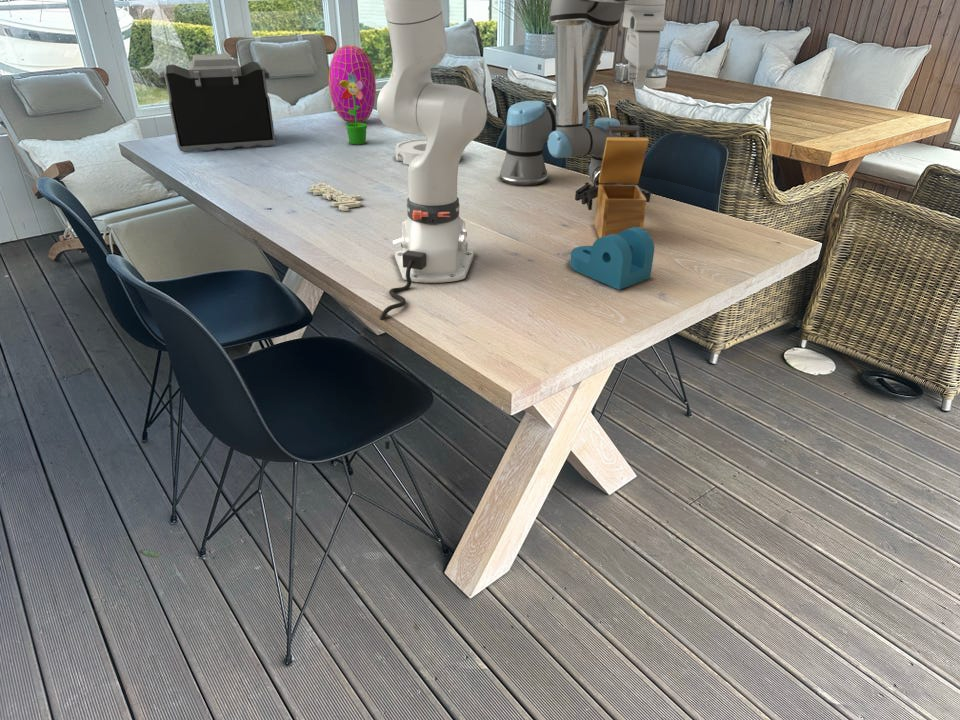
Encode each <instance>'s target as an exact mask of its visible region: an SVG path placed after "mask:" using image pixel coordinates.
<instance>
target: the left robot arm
mask: <svg viewBox="0 0 960 720" xmlns="http://www.w3.org/2000/svg"><path fill="white" fill-rule="evenodd" d="M382 1H383V7H384V14H385V20H386V24H387V29H388V34H389V40H390V46H391V55H392V69H391V74H390V76H389V79H388V81H387V82H386V83H385V84H384V85H383V86H382V88H381V89H380V91H379V93H378V96H377V101H376V110H377V114H378V118H379V120H380V122H381V123H382V124H383V125H384V126H386V127H388V128H390V129H392V130H394V131H396V132H398V133H402V134H406V135H407V134H408V135H412V136H413V135H414V136H420V137H425V139H427V144H426V149H425V152H423V153H421V154H419V155H418V156H416V157H415V158H414V159H413V160H412V161H411V162H410V164H409V165H408V168H407V184H408V186H407V187H408V198H407V199H406V211H407V213H406V214H407V217H406V218H405V219H404V220H403V221H402V223H401V231H402V237H399V238H397V239H395V240H392V244H393V245H395V244H398V243H401V244H400V247H401V249H400V250H397V251H395V252H394V259H395V262H396V264H397V267H398V269H399V272H400V274H401V277H402V279H403V280H405V281H406V284H405V285H404V286H402V287H393V288H390V290H389V295H390V297H392V298H394V299H396V300H398V301H400V302H398V303H397V302H396V303H394V304H391V305H388V306H387V307H385V308H384V309H383V310H382V312H381V314H380V317H379V320H380V321H384V320H385V319H386V317H387V315H388V314H389V312H391V311H393V310H396V309H399V308H403V307H404V306H405V305H406V303H407V302H406V301H407V300H406V299H405V297H403V296H402V295H399V294H397V293H400V292H404V291H407V290H409V289H410V288H411V286H412V282H414V283H431V284H433V283H435V284H437V283H451V282H457V281H461V280H464V279H466V277H467V274H468V273H469V269H470V267H471V265H472V262H473V260H474V257H475V251H473V250H471V249H468V245H469V243H468V242H467V241H466V238H467V236H468V232H467V231H466V221H465V220H464V219H463V218H461V216H460V208H461V207H460V206H461V205H460V198H459V197H458V175H459V174H458V173H459V166H460V160H461V159H460V158H462V155H463V153H464V152H465V150H466V148H467V147H468V145H469V144H470V143H471V142H472V141H474V140H475V139H477V138H478V137H479V136H480V134H481V133H482V132H483V131H484V128H485V126H486V123H487V118H488V112H487V111H488V110H487V105H486V103H485V100H484V98H483V96H482V95H481V94H480V93H479V92H477V91H474V90H472V89H470V88H466V87H464V86H461V85H454V84H443V83H436V82H434V81H433V80H432V69H433V68H434V67H436V66H437V65H439V64H440V63H441V62H442V61H443V60H444V58H445V56H446V54H447V50H448V41H447V34H446V27H445V22H444V14H443V7H442V1H441V0H382ZM580 1H584V2H592V1H598V2H610V3H621V2H625V5H624V12H623V14H622V15H623V16H622V23H621V24H622V28H626V29H627V30H626V36H625V37H626V38H625V44H624V50H623V51H624V52H623V54H624V59H625V60H627V62H628V63H627V64H628V65H627V66H628V67H627V68H628V70H627V71H628V76H627V81H628V82H629V83H634V88H635V89H636V90H643V89H644V87H645V81H646V78H647V75H648V70H653V69H654V67H655V65H656V61H657V57H658V53H659V52H658V51H659V48H660V47H659V46H660V43H661V35H662V34H661V32H664V30H665V26H666V20H665V13H666V12H665V10H666V3H667V1H666V0H580ZM384 444H385V445H384V446H385V450H389V449H391V446H390V440H387V441H385V442H384Z"/></svg>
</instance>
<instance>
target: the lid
mask: <svg viewBox="0 0 960 720" xmlns="http://www.w3.org/2000/svg"><path fill="white" fill-rule="evenodd" d="M607 133H609V137H607V139H606V144H605V150H604V155H603V160H602V165H601V171H600V176H599V183H614V184H623V185H630V184H634V185H638V184H639V182H640V178H641V173H642V171H643V170H642V169H643V166H644V162H645V158H646V153H647V149H648V145H649V141H650V140H649V137H642V136H641V137H640V125H623V124H620V125H608V127H607ZM612 133H620V134H635V136H634V137H633V136H619V137H612Z"/></svg>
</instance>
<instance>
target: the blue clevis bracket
mask: <svg viewBox="0 0 960 720" xmlns="http://www.w3.org/2000/svg"><path fill="white" fill-rule="evenodd" d="M654 255H655V244H654V240H653V238H652V236H651V235H650V234H649V232H648V231H647V230H646V229H644V228H643V229H642V228H640V227H633V228H629V229H626V230H623V231H621V232H620V233H619V234H618V235H617V234H610V235H607V236H604V237H601V238H599V237H598V238H597V239H595V241H594V242H593V243H592V245H581V246H577V247H575V248H572V249H571V251H570V257H569V258H570V259H569V266H570V268H571V269H572V270H573V271H575V272H577V273H579V274H582V275H584V276H586V277H588V278H591V279H593V280H595V281H598V282H600V283H603V284H605V285H607V286H609V287H611V288H613V289H616V290H619V291H620V290H622V289H626V288H627V287H630V286H633V285H636V284H638V283H640V282H643V281H646V280H648V279H651V277H652V269H653V262H654V257H655V256H654Z"/></svg>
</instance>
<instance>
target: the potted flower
mask: <svg viewBox="0 0 960 720" xmlns="http://www.w3.org/2000/svg"><path fill="white" fill-rule="evenodd" d="M348 78H349V81H346V80H342V81H341V82H340V83H339V84H340V85H341V86H342V87H343V88H346V89H347V90H345V91H344V93H343V94H342V97H341V99H348V98H350V97H351V96H352V95H353V100H354V110H349V111H348V112H349V114H351V115H355V123H349V122H348V123H347V124H346V125H345V128H346V131H347V136H348V141H349V144H352V145H363V144H366V143H367V129H368V124H367V123H366V122H365V123H364V122H361V123H357V116H356V110H358V109H359V106H356V103H355V95H356V97H357V98H358V99H359V100H362V98H363V93H362V92H361V91H360V90H361V89H363V84H362V82H361V81H358V82H357V83H356V78H355V76H354V75H352V74H350V73H348Z"/></svg>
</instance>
